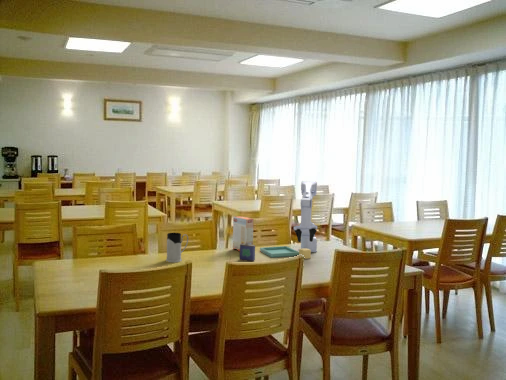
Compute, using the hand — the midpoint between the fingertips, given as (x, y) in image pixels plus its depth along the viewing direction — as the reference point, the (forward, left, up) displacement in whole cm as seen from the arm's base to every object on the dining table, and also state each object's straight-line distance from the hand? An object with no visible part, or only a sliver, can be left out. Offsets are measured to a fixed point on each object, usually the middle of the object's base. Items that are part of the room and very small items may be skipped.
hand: (305, 241), depth 269 cm
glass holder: (+72, -15, -10) cm, 74 cm away
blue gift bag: (+35, -3, -10) cm, 36 cm away
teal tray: (+10, -14, -9) cm, 20 cm away
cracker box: (+29, -27, -10) cm, 41 cm away
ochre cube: (0, 0, -10) cm, 10 cm away
